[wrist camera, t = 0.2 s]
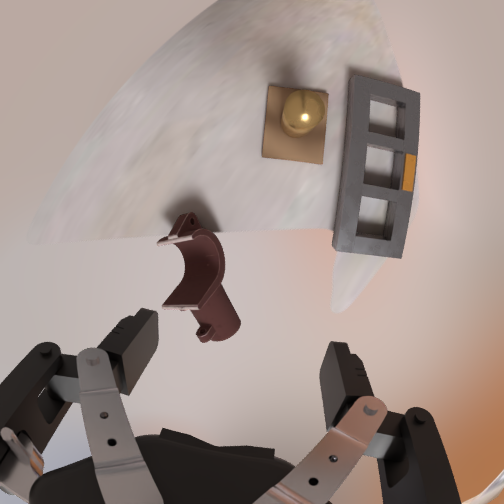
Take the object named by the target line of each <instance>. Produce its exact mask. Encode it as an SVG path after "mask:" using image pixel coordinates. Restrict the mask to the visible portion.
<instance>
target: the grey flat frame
mask: <svg viewBox="0 0 504 504" xmlns="http://www.w3.org/2000/svg"><path fill="white" fill-rule="evenodd" d="M370 100H373V101H377V102H381V103H385V104H388V105H392V106H395V107H397V128H396V138H394V137H390V136H386V135H382V134H378V133H373V132H369V131H368V129H369V114H370ZM419 122H420V93H418V92H415V91H412V90H409V89H406V88H403V87H400V86H397V85H393V84H390V83H386V82H383V81H379V80H375V79H371V78H367V77H363V76H359V75H354V76H353V77H352V78H351V79H350V80H349V90H348V108H347V122H346V135H345V146H344V156H343V166H342V175H341V183H340V191H339V199H338V206H337V213H336V220H335V227H334V234H333V240H332V246H333V248H334V249H335V250H336V251H340V252H349V253H357V254H366V255H375V256H383V257H392V258H400V259H401V258H402V253H403V249H404V244H405V239H406V234H407V228H408V223H409V217H410V211H411V205H412V198H413V191H414V183H415V175H416V166H417V155H418V142H419V124H420V123H419ZM367 146H369V147H374V148H378V149H383V150H387V151H391V152H395V154H394V165H393V174H392V182H391V189H389V188H384V187H379V186H373V185H368V184H363V180H364V172H365V163H366V153H367ZM361 196H366V197H372V198H377V199H383V200H388V201H389V204H388V210H387V217H386V223H385V228H384V234H383V236H380V235H372V234H365V233H358V232H356V229H357V223H358V217H359V210H360V203H361Z"/></svg>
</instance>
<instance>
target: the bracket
mask: <svg viewBox="0 0 504 504" xmlns="http://www.w3.org/2000/svg"><path fill="white" fill-rule="evenodd" d="M172 243H173V244H175V245H176V246H177V247H178V248H179V249H180V251H181V253H182V255H183V258H184V261H185V273H184V277H183V279H182V281H181V282H180V284H179V285H178V286H177V287H176V289H175V290H174V291H173V292H172V294H171V295H170V296H169V297H168V298H167V300H166V301H165V302H164V304H163V305H162V309H164V310H166V309H167V310H181V311H185V310H191V312H192V313H193V315H194V317H195V318H196V320H197V321H198V323H199V325H200V327H199V329H198V330H197V332H196V335H197V337H198V338H199V339H200V341H201V342H202V343H205V342H208V341H210V340H212V341H223V340H226V339H228V338H230V337H231V336H233V335H234V334H235V333H236V332H237V331H238V329H239V328H240V325H241V321H240V319H239V317H238V315H237V313H236V311H235V309H234V307H233V305H232V304H231V302H230V300H229V298H228V296H227V294H226V292H225V290H224V288H223V286H222V285H221V282H222V280H223V277H224V273H225V257H224V252H223V248H222V246H221V243H220V242H219V240H218V238H217V237H216V235H215V234H214V233H213V232H211V231H210V230H208V229H202V227H201V225H200V223H199V220H198V218H197V216H196V215H195V214H194V213H192V212H190V213H186V214H183V215H180V216H179V217H178V219H177V221H176V223H175V224H174V226H173V228H172V230H171V232H170V233H169V235H168V236H166V237H163V238H162V239H160V240H159V241H158V242H157V246H162V245H167V244H172Z"/></svg>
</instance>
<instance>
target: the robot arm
mask: <svg viewBox="0 0 504 504" xmlns="http://www.w3.org/2000/svg"><path fill="white" fill-rule="evenodd" d="M158 339H159V335H158V313H157V312H156V311H153V310H149V309H145V308H141V309H140V310H139V311H138V312H137V313H136V315H135V316H128V317H126V318H124V319H122V320H121V321H120V322H119V323H118V324H117V325H116V327H114V329H113V330H112V332H110V333H109V334H108V335H107V336H106V338H105V339H104V340H103V341H102V342H101V344H100V345H99V346H98V347H97V348H87V349H84V350H83V351H81V352H80V353H79V354H78V356H74V355H66V354H61V350H60V347H59V346H58V345H57V344H55V343H52V342H44V343H40V344H38V345H37V346H35V347H34V348H33V349H32V350H31V351H30V352H29V354H28V355H26V357H25V358H24V359H23V360H22V361H21V362H20V363H19V364H18V365H17V366H16V367H15V368H14V370H13V371H12V372H11V373H10V374H9V375H8V376H7V377H6V378H5V380H4V381H3V382H2V383H1V384H0V489H1V490H2V491H4V492H5V493H7V494H10V495H16V496H18V497H19V498H21V499H22V500H24V501H25V502H27V503H28V504H332V503H331V502H330V501H329V499H330V498H331V497H332V496H333V494H334V493H335V492H336V490H337V489H338V488H339V487H340V485H341V484H342V483H343V482H344V480H345V479H346V478H347V476H348V475H349V473H350V472H351V471H352V469H353V468H354V467H355V465H356V464H357V462H358V461H359V459H360V458H361V456H362V455H366V456H370V457H375V458H377V462H378V469H379V475H380V482H381V489H382V497H383V504H461V501H460V497H459V493H458V490H457V486H456V483H455V479H454V476H453V473H452V470H451V466H450V463H449V460H448V458H447V454H446V452H445V449H444V446H443V443H442V440H441V438H440V435H439V432H438V430H437V427H436V424H435V422H434V419H433V417H432V415H431V414H430V413H429V412H428V411H427V410H425V409H423V408H419V407H413V408H410V409H408V411H407V412H406V413H405V415H403V414H399V413H395V412H391V411H388V410H387V407H386V405H385V404H384V403H383V402H382V401H381V400H380V399H378V398H376V397H374V394H373V392H372V388H371V385H370V382H369V379H368V377H367V374H366V371H365V368H364V365H363V362H362V360H361V359H360V358H359V357H358V356H357V355H356V354H350V351H349V347H348V344H347V343H344V342H333V341H331V342H330V343H329V346H328V349H327V351H326V354H325V357H324V360H323V363H322V366H321V369H320V386H321V392H322V399H323V407H324V414H325V421H326V429H327V432H328V433H327V434H326V435H325V436H324V438H323V439H322V440H321V441H320V442H319V443H318V444H317V445H316V446H315V447H314V448H313V450H312V451H311V452H310V453H309V454H308V455H307V456H306V457H305V458H304V459H303V460H302V461H301V462H300V463H299V464H298V465H297V466H296V467H295V466H294V465H292V464H291V463H289V462H287V461H285V460H283V459H281V458H278V457H275V456H274V452H275V449H271V448H262V447H253V446H223V447H218V446H214V445H211V444H209V443H207V442H204V441H202V440H200V439H197V438H195V437H193V436H191V435H188V434H184V433H180V432H176V431H172V430H169V429H165V428H162V431H161V433H160V435H143V436H138V437H134V435H133V432H132V429H131V426H130V424H129V421H128V418H127V415H126V413H125V409H124V406H123V403H122V400H121V397H120V393H122V394H125V395H128V396H129V395H130V393H131V391H132V389H133V388H134V386H135V385H136V383H137V381H138V379H139V378H140V376H141V374H142V373H143V371H144V369H145V368H146V366H147V364H148V363H149V361H150V359H151V358H152V356H153V354H154V353H155V351H156V349H157V346H158ZM44 388H45V389H44ZM43 389H44V390H43ZM42 390H43V391H42ZM41 392H42V393H41ZM40 393H41V394H40ZM39 394H40V395H39ZM38 396H39V397H38ZM73 402H75V403H80V404H81V410H82V415H83V420H84V425H85V429H86V434H87V439H88V443H89V447H90V451H91V454H92V456H90V457H88V458H85V459H83V460H80V461H77V462H75V463H72V464H70V465H67V466H64V467H61V468H58V469H55V470H53V471H50V472H47V473H45V474H43V468H44V460H43V457H42V455H41V454H42V453H43V451H44V449H45V448H46V446H47V444H48V442H49V441H50V439H51V437H52V436H53V434H54V432H55V431H56V429H57V427H58V426H59V424H60V422H61V421H62V419H63V417H64V416H65V414H66V413H67V411H68V409H69V408H70V406H71V405H72V403H73Z"/></svg>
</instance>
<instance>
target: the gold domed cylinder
mask: <svg viewBox="0 0 504 504" xmlns="http://www.w3.org/2000/svg"><path fill="white" fill-rule="evenodd" d="M324 115H325V105H324V102H323V100H322V99H321V98H320V96H319V95H317V94H316V93H314V92H312V91H309V90H298V91H295V92H293V93H292V94H290V95H289V96H288V98H287V99H286V102H285V106H284V110H283V114H282V118H281V128H282V130H283V132H284V133H285V134H286V135H288V136H289V137H292V138H302V137H304V136H306V135H307V134H308V133H309V132H310V131H311V130H312V129H313V128H314V127H315V126H316V125H318V124H319V123H320V122H321V121H322V119H323V117H324Z"/></svg>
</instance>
